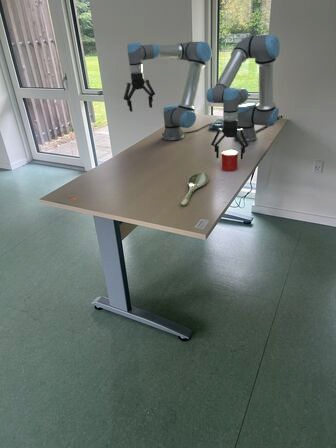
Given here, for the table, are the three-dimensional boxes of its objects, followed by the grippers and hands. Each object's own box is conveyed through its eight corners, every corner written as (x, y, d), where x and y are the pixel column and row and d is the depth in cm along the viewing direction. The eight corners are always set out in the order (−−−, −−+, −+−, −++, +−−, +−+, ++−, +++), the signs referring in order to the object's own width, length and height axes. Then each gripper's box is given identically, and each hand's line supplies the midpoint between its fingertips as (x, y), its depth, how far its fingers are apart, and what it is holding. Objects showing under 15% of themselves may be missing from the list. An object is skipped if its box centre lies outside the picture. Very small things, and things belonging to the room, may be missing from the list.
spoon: (193, 209, 156) (193, 205, 155) (172, 207, 159) (171, 203, 158) (212, 175, 182) (212, 172, 181) (193, 174, 186) (193, 170, 184)
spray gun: (234, 122, 269) (216, 122, 275) (234, 117, 267) (216, 117, 273) (226, 131, 254) (207, 130, 260) (226, 125, 251) (207, 124, 258)
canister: (222, 165, 195) (222, 149, 190) (237, 165, 193) (238, 149, 188) (221, 171, 188) (221, 155, 183) (236, 171, 186) (237, 155, 181)
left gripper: (119, 75, 190) (124, 114, 201) (158, 70, 200) (161, 106, 211) (114, 74, 196) (120, 111, 207) (152, 69, 205) (156, 104, 216)
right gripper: (205, 121, 178) (206, 159, 188) (253, 121, 169) (251, 161, 180) (209, 117, 183) (209, 154, 194) (255, 118, 175) (253, 157, 186)
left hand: (141, 109), depth 209 cm, fingers open, 13 cm apart
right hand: (229, 158), depth 187 cm, fingers open, 13 cm apart
